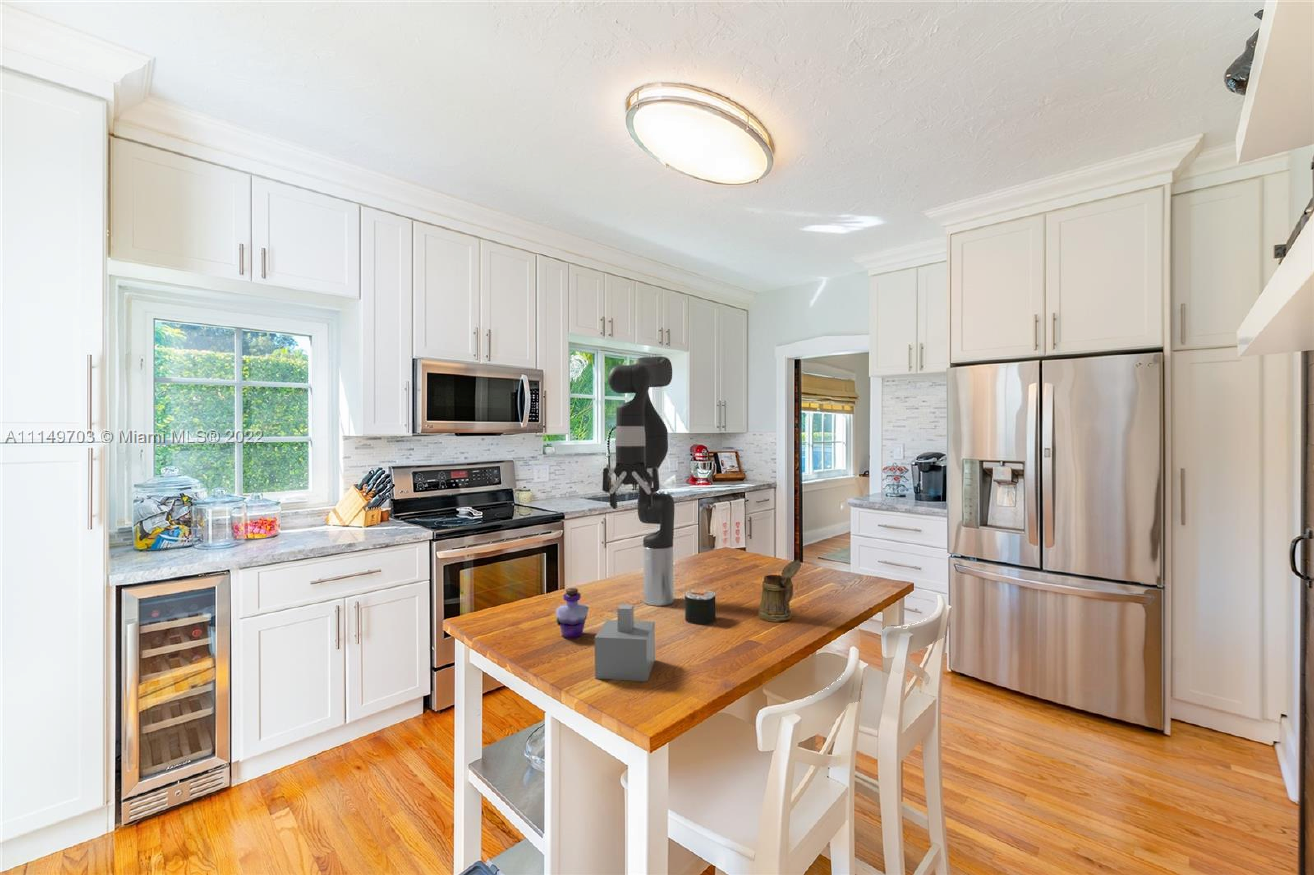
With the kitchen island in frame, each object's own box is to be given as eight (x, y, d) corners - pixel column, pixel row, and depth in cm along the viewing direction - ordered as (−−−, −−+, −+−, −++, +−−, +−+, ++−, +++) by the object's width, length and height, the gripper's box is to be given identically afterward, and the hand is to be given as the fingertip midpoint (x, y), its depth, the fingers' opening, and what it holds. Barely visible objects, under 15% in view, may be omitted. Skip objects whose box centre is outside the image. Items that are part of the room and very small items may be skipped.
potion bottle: (554, 631, 149) (553, 585, 148) (587, 628, 151) (586, 583, 151) (556, 642, 140) (556, 594, 140) (591, 639, 142) (590, 592, 142)
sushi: (708, 626, 151) (708, 597, 151) (680, 621, 155) (680, 593, 155) (720, 617, 158) (719, 589, 158) (692, 613, 162) (692, 585, 162)
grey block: (607, 657, 131) (606, 598, 131) (655, 659, 129) (654, 600, 129) (595, 678, 120) (594, 613, 120) (646, 681, 118) (646, 615, 118)
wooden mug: (786, 629, 148) (785, 561, 148) (752, 615, 160) (751, 552, 160) (810, 623, 153) (809, 557, 153) (775, 610, 164) (774, 548, 164)
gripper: (660, 443, 144) (661, 507, 144) (606, 444, 146) (607, 506, 147) (656, 444, 137) (656, 511, 137) (599, 445, 139) (600, 510, 139)
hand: (631, 508), depth 142 cm, fingers open, 8 cm apart
